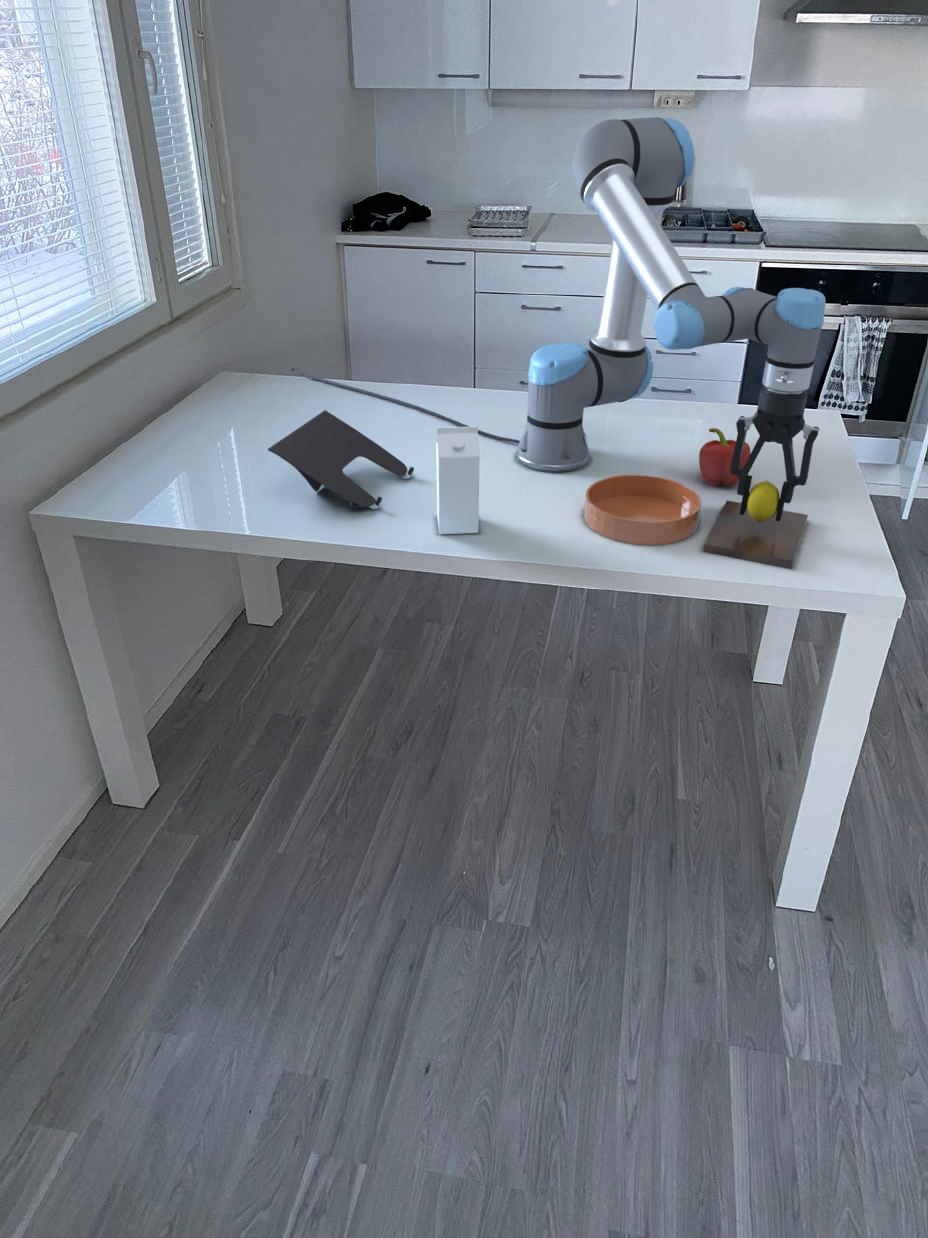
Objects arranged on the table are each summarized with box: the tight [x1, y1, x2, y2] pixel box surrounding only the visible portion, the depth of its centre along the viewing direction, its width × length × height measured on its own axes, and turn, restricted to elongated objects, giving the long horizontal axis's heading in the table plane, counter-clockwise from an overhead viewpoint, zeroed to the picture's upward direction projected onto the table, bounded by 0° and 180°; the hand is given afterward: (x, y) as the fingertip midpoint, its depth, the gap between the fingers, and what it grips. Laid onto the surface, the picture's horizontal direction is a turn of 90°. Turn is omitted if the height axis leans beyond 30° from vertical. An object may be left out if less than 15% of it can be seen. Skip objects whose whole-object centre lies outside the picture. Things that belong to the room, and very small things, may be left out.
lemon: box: [746, 480, 780, 523], centre depth 166 cm, size 6×6×8 cm
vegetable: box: [698, 427, 751, 487], centre depth 188 cm, size 11×10×10 cm
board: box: [703, 500, 809, 570], centre depth 169 cm, size 15×20×2 cm
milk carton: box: [435, 426, 481, 535], centre depth 168 cm, size 7×7×19 cm
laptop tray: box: [267, 409, 415, 510], centre depth 186 cm, size 23×23×9 cm
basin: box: [583, 474, 702, 546], centre depth 174 cm, size 21×21×4 cm
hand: (760, 514), depth 167 cm, fingers closed on lemon, 6 cm apart
